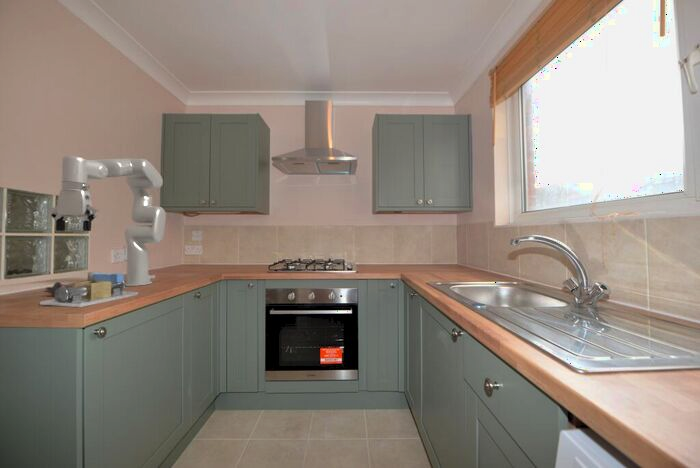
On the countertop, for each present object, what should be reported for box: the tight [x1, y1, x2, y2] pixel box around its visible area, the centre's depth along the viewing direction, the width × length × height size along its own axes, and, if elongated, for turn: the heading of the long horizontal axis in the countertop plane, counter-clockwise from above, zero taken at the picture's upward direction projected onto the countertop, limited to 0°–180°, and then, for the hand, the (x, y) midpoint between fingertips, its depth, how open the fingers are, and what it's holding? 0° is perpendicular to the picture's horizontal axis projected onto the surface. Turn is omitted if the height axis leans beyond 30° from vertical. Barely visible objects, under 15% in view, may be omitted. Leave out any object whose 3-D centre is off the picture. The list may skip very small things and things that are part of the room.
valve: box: [45, 281, 75, 298], centre depth 137 cm, size 6×26×15 cm
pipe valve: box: [39, 280, 139, 308], centre depth 122 cm, size 24×18×7 cm
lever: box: [87, 271, 125, 282], centre depth 121 cm, size 15×4×4 cm, turn 79°
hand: (73, 230), depth 119 cm, fingers open, 9 cm apart
